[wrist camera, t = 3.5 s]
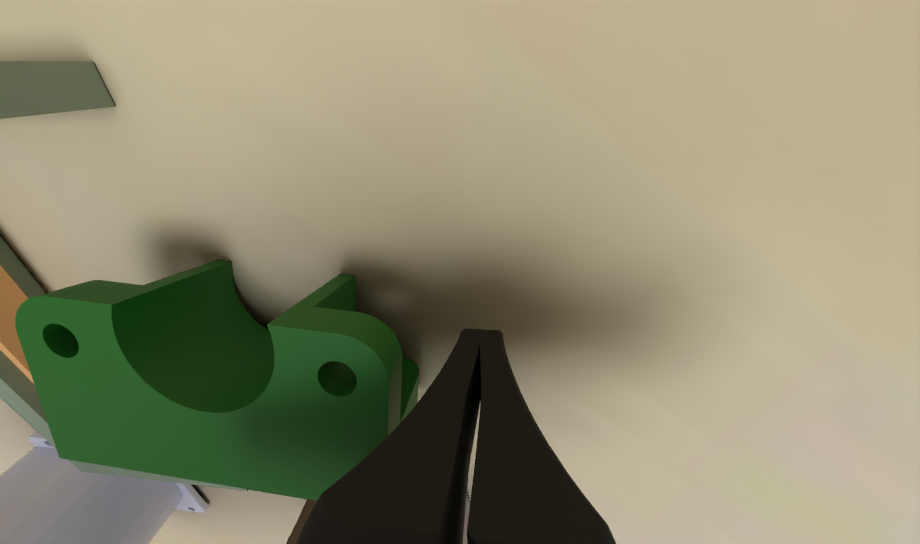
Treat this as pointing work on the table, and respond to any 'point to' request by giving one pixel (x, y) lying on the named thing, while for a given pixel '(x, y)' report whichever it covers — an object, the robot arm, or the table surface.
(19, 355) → the bracket
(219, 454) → the clamp
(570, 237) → the table surface
